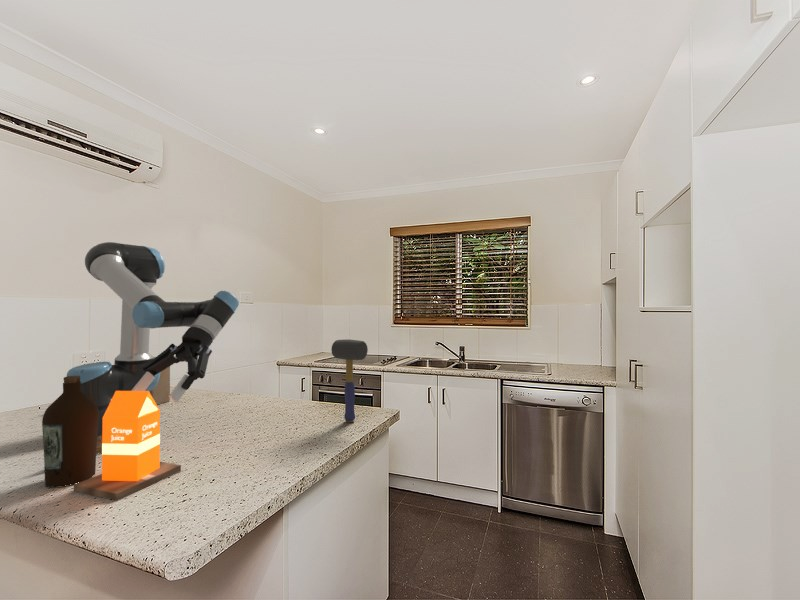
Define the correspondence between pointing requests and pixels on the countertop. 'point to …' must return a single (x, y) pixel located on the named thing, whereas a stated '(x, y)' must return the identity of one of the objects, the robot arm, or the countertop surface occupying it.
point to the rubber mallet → (349, 369)
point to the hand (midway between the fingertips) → (153, 397)
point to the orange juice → (130, 437)
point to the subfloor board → (124, 483)
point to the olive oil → (70, 436)
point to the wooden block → (162, 388)
